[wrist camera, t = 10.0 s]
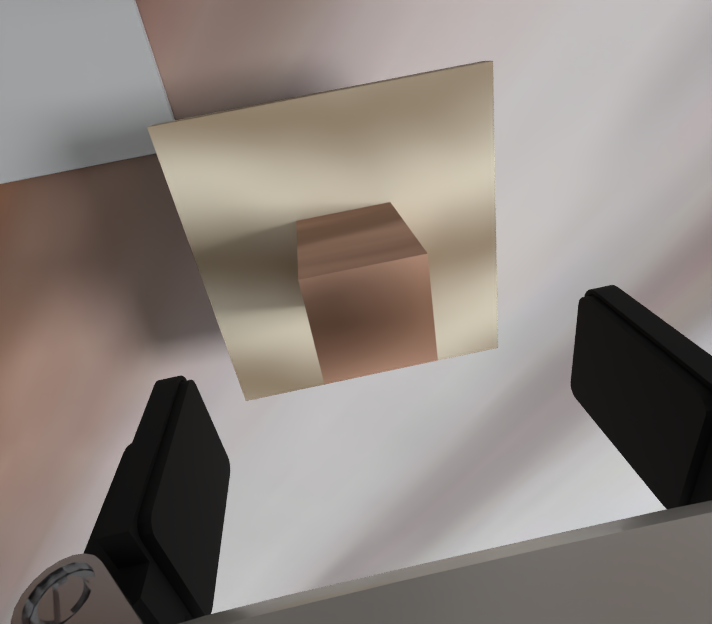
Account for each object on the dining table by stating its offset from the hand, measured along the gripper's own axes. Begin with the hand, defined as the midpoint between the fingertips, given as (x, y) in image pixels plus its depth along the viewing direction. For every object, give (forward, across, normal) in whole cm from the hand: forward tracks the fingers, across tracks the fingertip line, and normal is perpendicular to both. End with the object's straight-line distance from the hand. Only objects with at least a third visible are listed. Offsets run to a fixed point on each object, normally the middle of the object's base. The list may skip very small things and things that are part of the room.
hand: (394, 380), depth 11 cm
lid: (+11, 0, +1) cm, 11 cm away
